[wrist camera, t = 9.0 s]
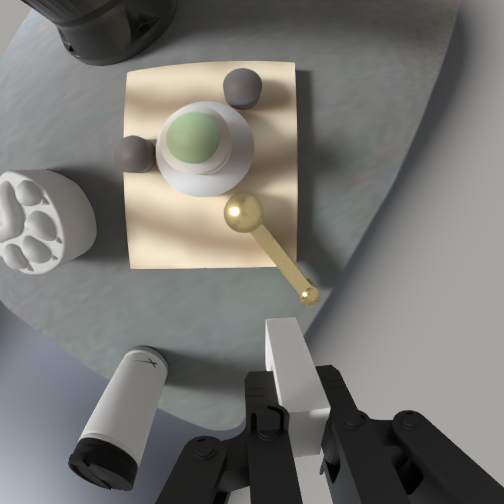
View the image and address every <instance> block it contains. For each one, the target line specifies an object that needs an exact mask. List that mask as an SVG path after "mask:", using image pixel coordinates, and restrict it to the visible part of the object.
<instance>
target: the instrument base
mask: <svg viewBox="0 0 504 504" xmlns="http://www.w3.org/2000/svg"><path fill="white" fill-rule="evenodd" d="M114 160H115V163H116V165H117V167H118V168H119V169H120V170H122V171H123V172H124V195H125V213H126V227H127V239H128V249H129V259H130V267H131V269H170V268H234V267H277V266H276V264H275V263H274V262H273V261H272V260H271V258H270V257H269V256H268V255H267V253H266V252H265V251H264V250H263V248H262V247H261V246H260V245H259V243H258V242H257V241H256V240H255V239H254V237H253V236H252V235H251V234H250V232H249V233H239V232H236V231H234V230H232V229H231V228H230V227H229V226H228V225H227V223H226V222H225V219H224V208H225V205H226V203H227V201H228V200H229V198H230V197H231V196H233V195H234V194H236V193H239V192H248V193H251V194H253V195H254V196H255V197H257V198H258V199H259V200H260V202H261V203H262V205H263V209H264V218H263V221H262V223H263V224H264V225H265V226H266V228H267V229H268V230H269V231H270V233H271V234H272V235H273V236H274V238H275V239H276V240H277V242H278V243H279V244H280V245H281V247H282V248H283V249H284V250H285V252H286V253H287V254H288V256H289V257H290V258H291V259H292V261H293V262H294V263H295V264H296V255H297V198H298V166H297V111H296V83H295V63H291V62H272V61H221V62H202V63H189V64H179V65H170V66H162V67H155V68H148V69H142V70H136V71H131V72H127V83H126V96H125V113H124V138H123V139H122V140H121V141H120V142H119V143H118V144H117V146H116V148H115V152H114Z"/></svg>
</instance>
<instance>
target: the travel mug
mask: <svg viewBox="0 0 504 504" xmlns="http://www.w3.org/2000/svg"><path fill="white" fill-rule="evenodd" d="M167 374H168V365H167V362H166V361H165V359H164V358H163V356H162V355H161V354H159V353H158V352H157V351H155V350H154V349H151V348H149V347H145V346H137V347H133V348H131V349H130V350H128V352H127V353H126V355H125V356H124V358H123V360H122V361H121V363H120V365H119V367H118V368H117V370H116V372H115V374H114V375H113V377H112V379H111V381H110V383H109V384H108V386H107V388H106V390H105V391H104V393H103V395H102V397H101V399H100V401H99V402H98V404H97V406H96V408H95V410H94V412H93V414H92V416H91V417H90V419H89V421H88V423H87V425H86V427H85V429H84V431H83V433H82V435H81V437H80V439H79V441H78V444H77V446H76V448H75V450H74V452H73V454H71V455H70V458H69V462H68V465H69V467H70V469H71V470H72V471H73V472H74V473H76V474H77V475H78V476H80V477H81V478H83V479H84V480H86V481H88V482H90V483H92V484H95V485H97V486H99V487H102V488H106V489H110V490H111V488H113V489H118V490H124V491H130V490H132V488H133V484H134V481H135V477H136V474H137V471H138V469H139V465H140V461H141V458H142V455H143V451H144V448H145V444H146V441H147V438H148V434H149V431H150V427H151V424H152V421H153V418H154V414H155V411H156V408H157V405H158V402H159V399H160V396H161V392H162V389H163V386H164V383H165V380H166V377H167Z"/></svg>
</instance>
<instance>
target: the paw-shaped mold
mask: <svg viewBox="0 0 504 504" xmlns="http://www.w3.org/2000/svg"><path fill="white" fill-rule="evenodd" d="M96 234H97V225H96V219H95V215H94V211H93V208H92V206H91V204H90V202H89V200H88V198H87V197H86V195H85V193H84V192H83V190H82V189H81V187H80V186H79V185H78V184H76V183H75V182H73V181H72V180H70V179H68V178H67V177H65V176H63V175H61V174H58V173H55V172H53V171H50V170H11V171H7V172H5V173H4V174H2V175H1V176H0V256H2V257H3V258H4V260H5V262H6V263H7V265H8V266H10V267H11V268H13V269H17V270H20V271H22V272H24V273H26V274H45V273H49V272H51V271H53V270H55V269H57V268H58V267H60V266H62V265H64V264H66V263H67V262H69V261H71V260H73V259H75V258H77V257H78V256H80V255H82V254H84V253H85V252H87V251H88V250H89V249H90V248H91V247H92V245H93V244H94V242H95V239H96Z"/></svg>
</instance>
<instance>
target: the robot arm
mask: <svg viewBox="0 0 504 504" xmlns="http://www.w3.org/2000/svg"><path fill="white" fill-rule="evenodd" d="M21 1H23V2H24V3H25V4H27V5H29V6H30V7H31V8H33V9H34V10H36V11H37V12H39V13H40V14H42V15H43V16H45V17H46V18H47V19H49V20H50V21H52V22H53V23H54V24H55V25H56V27H57V29H58V32H59V34H60V36H61V39H62V41H63V43H64V46H65V48H66V49H67V51H68V52H69V53H70V54H71V55H72V56H74V57H75V58H77V59H78V60H80V61H81V62H83V63H85V64H89V65H95V66H101V65H109V64H114V63H117V62H120V61H123V60H125V59H128V58H130V57H132V56H134V55H136V54H138V53H139V52H141V51H142V50H144V49H145V48H147V47H148V46H149V45H151V44H152V43H153V42H154V41H155V40H156V39H157V38H158V37H159V36H160V35H161V34H162V33H163V32H164V31H165V30H166V28H167V27H168V25H169V24H170V22H171V20H172V18H173V16H174V14H175V10H176V5H177V0H21ZM265 363H266V369H267V371H260V372H249V373H248V375H247V376H246V378H245V403H246V427H245V429H244V431H243V432H242V433H241V434H239V435H238V436H236V437H234V438H231V439H228V440H224V441H220V440H219V439H217V438H214V437H211V436H200V437H195V438H194V439H192V440H190V441H188V443H187V444H186V445H185V447H184V449H183V450H182V452H181V454H180V456H179V458H178V460H177V462H176V464H175V466H174V468H173V470H172V472H171V474H170V476H169V478H168V480H167V482H166V484H165V486H164V488H163V489H162V491H161V493H160V495H159V497H158V499H157V501H156V503H155V504H227V503H228V500H229V497H230V493H231V491H234V490H237V489H241V488H244V487H247V486H250V497H251V504H303V502H302V497H301V492H300V487H299V482H298V477H297V472H296V467H295V462H294V457H302V456H309V455H317V454H320V451H321V447H322V449H323V453H324V458H323V462H322V465H321V468H320V475H322V474H323V472H324V471H325V475H326V479H327V482H328V486H329V489H330V493H331V497H332V500H333V504H504V488H503V486H501V485H500V484H499V483H498V482H497V481H495V480H494V479H493V478H492V477H491V476H490V475H489V474H488V473H487V472H485V471H484V470H483V469H482V468H481V467H480V466H479V465H478V464H477V463H475V462H474V461H473V460H472V459H471V458H470V457H469V456H468V455H466V454H465V453H464V452H463V451H462V450H461V449H460V448H459V447H457V446H456V445H455V444H454V443H453V442H452V441H451V440H450V439H448V438H447V437H446V436H445V435H444V434H443V433H442V432H441V431H440V430H438V429H437V428H436V427H435V426H434V425H433V424H432V423H431V422H429V421H428V420H427V419H426V418H425V417H424V416H423V415H421V414H420V413H418V412H415V411H412V410H405V411H401V412H399V413H398V414H396V415H395V416H394V419H393V420H374V419H370V418H369V417H368V415H367V414H366V413H364V412H362V411H360V410H358V409H357V407H356V405H355V403H354V401H353V399H352V397H351V395H350V392H349V390H348V388H347V387H346V384H345V382H344V381H343V378H342V376H341V374H340V372H339V371H338V370H337V369H336V368H334V367H333V366H332V365H325V366H316V367H315V366H314V363H313V361H312V358H311V356H310V353H309V350H308V348H307V345H306V343H305V340H304V338H303V335H302V333H301V330H300V328H299V325H298V323H297V320H296V318H295V317H294V318H275V319H266V361H265Z"/></svg>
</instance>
